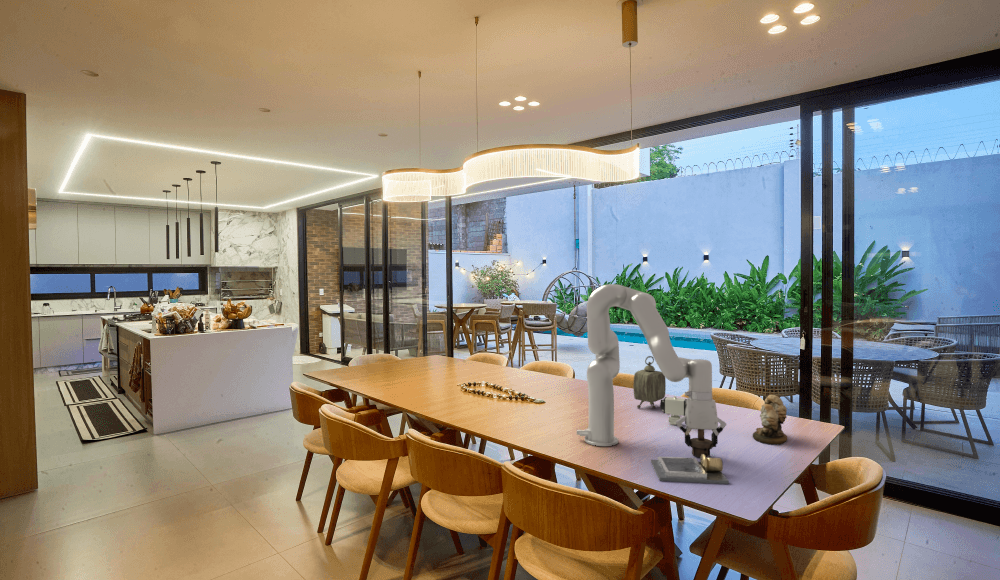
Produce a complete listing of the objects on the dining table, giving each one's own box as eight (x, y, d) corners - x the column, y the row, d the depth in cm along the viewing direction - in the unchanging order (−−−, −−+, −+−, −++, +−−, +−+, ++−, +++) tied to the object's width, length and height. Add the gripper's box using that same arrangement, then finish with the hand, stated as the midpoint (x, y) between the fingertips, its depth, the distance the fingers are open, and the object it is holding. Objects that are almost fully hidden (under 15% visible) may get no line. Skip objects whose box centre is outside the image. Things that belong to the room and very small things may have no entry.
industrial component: (715, 455, 176) (715, 421, 176) (710, 461, 170) (710, 425, 170) (687, 450, 181) (687, 417, 181) (681, 455, 176) (681, 421, 176)
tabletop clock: (650, 403, 252) (650, 353, 252) (666, 407, 245) (666, 355, 245) (633, 408, 242) (633, 356, 242) (649, 412, 236) (649, 358, 235)
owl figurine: (754, 430, 206) (754, 388, 206) (787, 435, 200) (788, 392, 200) (751, 442, 190) (751, 397, 190) (787, 447, 184) (787, 400, 184)
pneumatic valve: (688, 427, 210) (688, 398, 210) (660, 423, 216) (660, 395, 215) (690, 424, 215) (690, 396, 215) (662, 420, 220) (662, 393, 220)
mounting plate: (659, 481, 153) (659, 461, 153) (651, 462, 169) (650, 444, 169) (728, 484, 150) (728, 464, 150) (713, 465, 166) (713, 447, 166)
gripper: (676, 397, 173) (677, 448, 173) (730, 398, 170) (730, 449, 170) (672, 392, 180) (672, 441, 180) (723, 393, 178) (724, 443, 178)
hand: (701, 445), depth 175 cm, fingers closed on industrial component, 8 cm apart
